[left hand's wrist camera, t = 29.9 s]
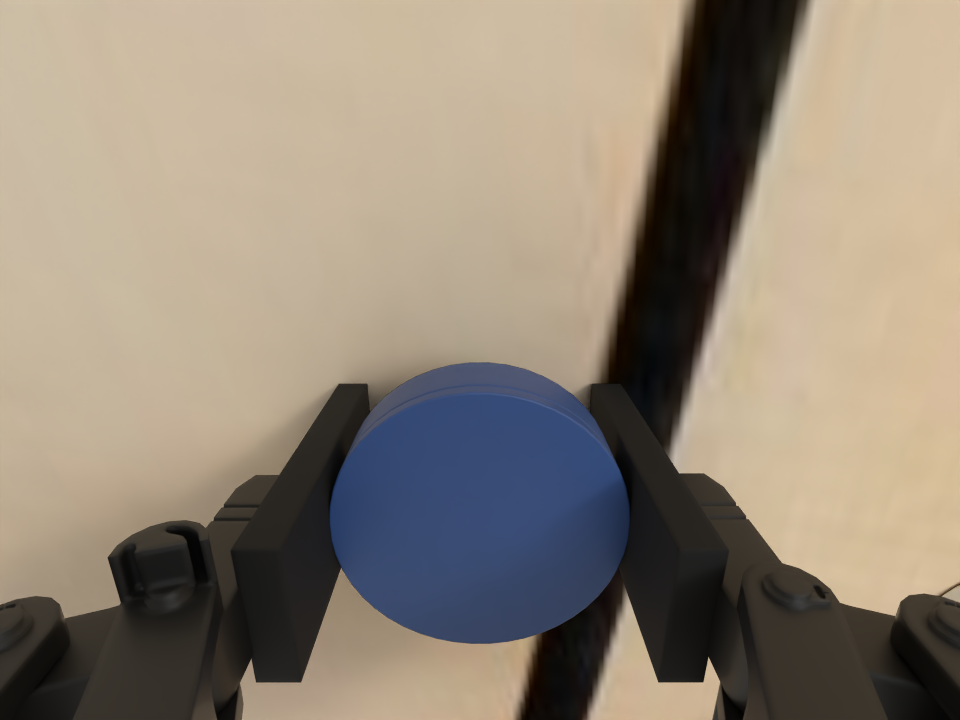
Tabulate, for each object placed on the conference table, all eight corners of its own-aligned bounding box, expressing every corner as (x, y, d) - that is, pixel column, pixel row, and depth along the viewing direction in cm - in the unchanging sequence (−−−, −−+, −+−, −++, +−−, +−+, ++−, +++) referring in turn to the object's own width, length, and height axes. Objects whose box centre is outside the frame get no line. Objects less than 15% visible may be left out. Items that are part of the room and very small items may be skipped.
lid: (534, 620, 14) (541, 678, 12) (310, 534, 13) (287, 586, 11) (662, 429, 12) (690, 470, 10) (411, 314, 11) (399, 338, 9)
